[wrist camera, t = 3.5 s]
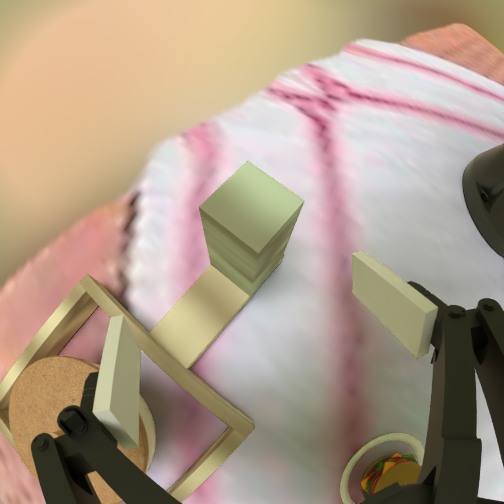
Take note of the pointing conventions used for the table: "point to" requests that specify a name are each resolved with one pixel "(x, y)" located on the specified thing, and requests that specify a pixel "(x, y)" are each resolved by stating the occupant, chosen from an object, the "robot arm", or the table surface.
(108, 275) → the table surface
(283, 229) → the pull frame
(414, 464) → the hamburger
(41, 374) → the lidded jar
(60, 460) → the robot arm
